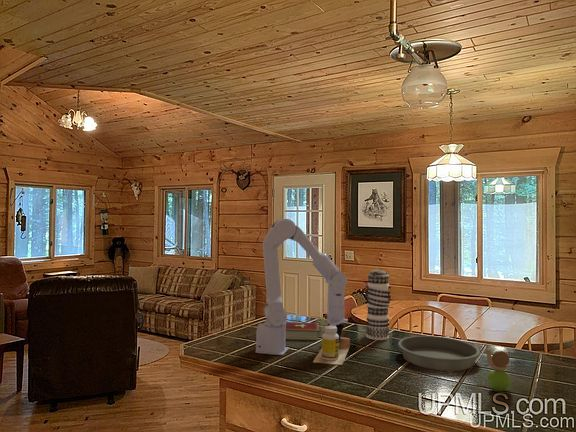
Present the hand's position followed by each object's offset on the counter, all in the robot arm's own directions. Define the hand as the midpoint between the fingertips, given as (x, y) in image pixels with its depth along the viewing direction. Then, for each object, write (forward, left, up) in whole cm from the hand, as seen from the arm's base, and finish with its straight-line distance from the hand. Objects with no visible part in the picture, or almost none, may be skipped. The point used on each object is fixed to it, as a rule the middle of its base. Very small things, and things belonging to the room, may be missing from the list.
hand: (335, 345), depth 148 cm
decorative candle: (+13, +20, -1) cm, 24 cm away
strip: (0, -6, -1) cm, 6 cm away
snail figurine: (+46, -24, -1) cm, 52 cm away
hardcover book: (-19, +12, -2) cm, 23 cm away
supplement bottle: (0, -11, -1) cm, 11 cm away
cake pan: (+33, -1, -2) cm, 33 cm away
